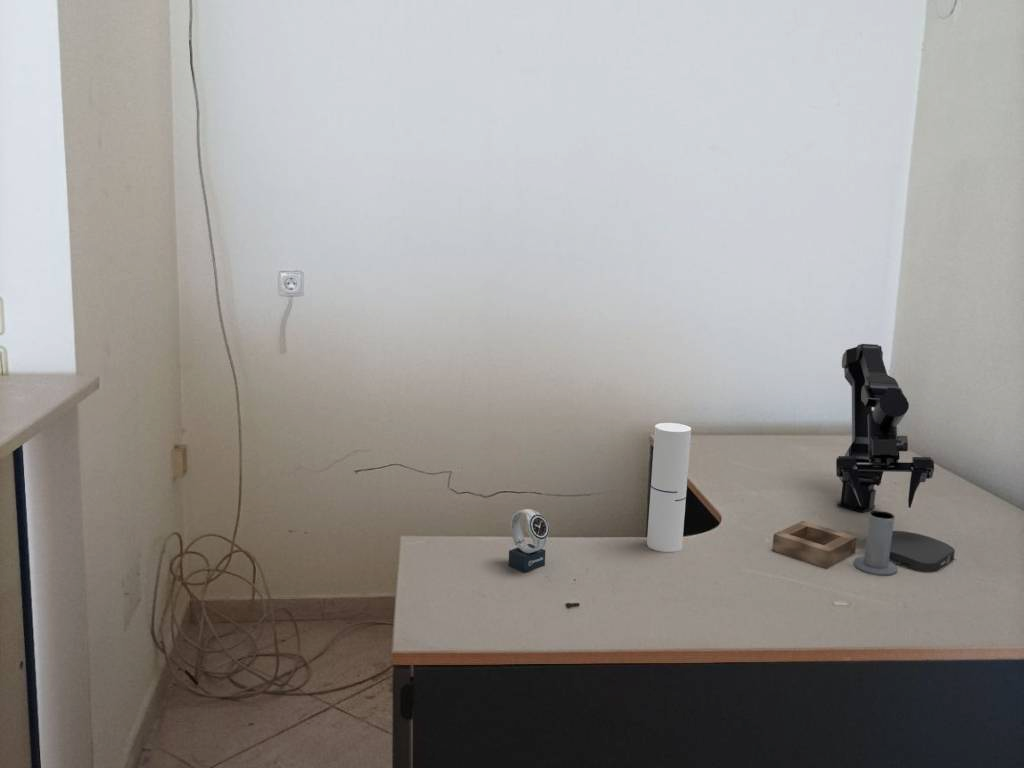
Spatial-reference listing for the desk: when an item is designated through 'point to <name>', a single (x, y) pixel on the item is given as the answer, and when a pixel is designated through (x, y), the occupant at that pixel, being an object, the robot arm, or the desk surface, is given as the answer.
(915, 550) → the media streaming box
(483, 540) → the desk surface
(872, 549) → the planter
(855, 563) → the mat
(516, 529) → the watch
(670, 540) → the cylindrical container
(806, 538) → the planter holder
